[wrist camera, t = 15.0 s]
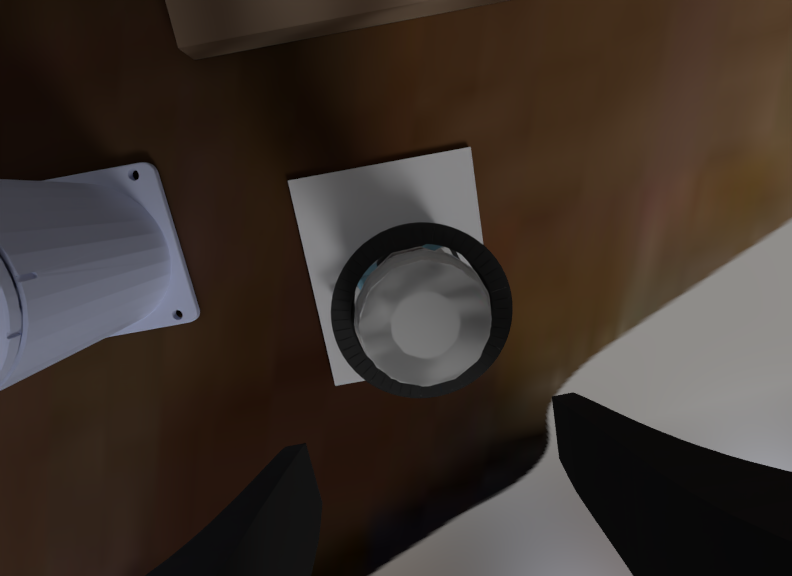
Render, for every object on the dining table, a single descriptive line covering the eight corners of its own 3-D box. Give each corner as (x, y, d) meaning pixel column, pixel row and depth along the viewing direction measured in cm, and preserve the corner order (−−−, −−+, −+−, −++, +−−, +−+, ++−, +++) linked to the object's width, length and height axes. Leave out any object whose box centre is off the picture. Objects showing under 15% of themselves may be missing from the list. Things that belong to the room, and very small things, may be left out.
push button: (364, 343, 21) (347, 466, 12) (311, 257, 20) (244, 312, 11) (475, 284, 21) (555, 360, 11) (427, 191, 20) (469, 186, 10)
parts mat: (335, 383, 22) (335, 385, 22) (289, 181, 20) (287, 180, 19) (496, 354, 22) (497, 356, 22) (469, 147, 20) (470, 147, 19)
